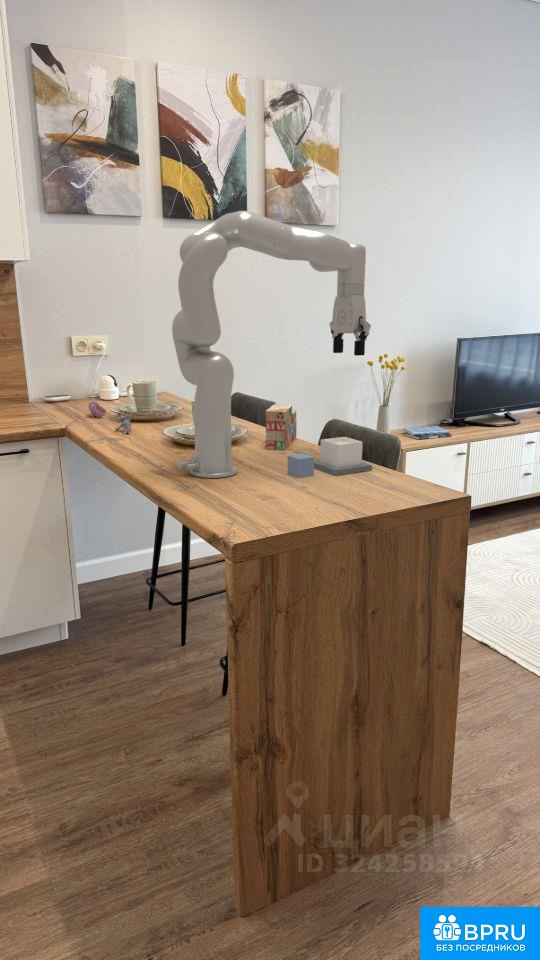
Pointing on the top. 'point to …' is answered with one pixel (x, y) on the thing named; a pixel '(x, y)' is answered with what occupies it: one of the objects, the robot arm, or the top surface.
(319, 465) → the tower base
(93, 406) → the purple rounded piece
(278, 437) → the stack of blocks
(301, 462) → the top brick
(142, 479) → the top surface
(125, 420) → the elephant figurine
